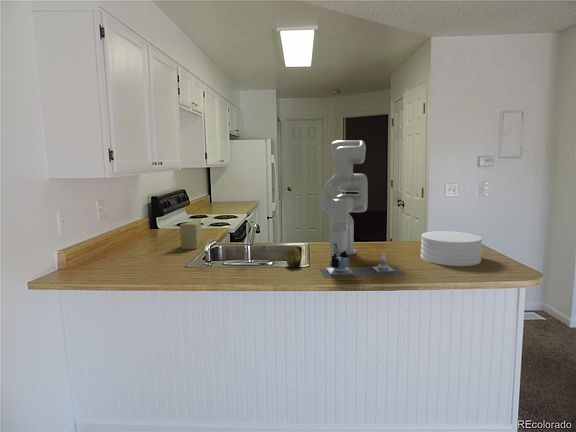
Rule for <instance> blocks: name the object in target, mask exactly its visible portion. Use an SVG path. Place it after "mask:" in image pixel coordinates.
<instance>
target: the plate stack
mask: <svg viewBox="0 0 576 432" xmlns="http://www.w3.org/2000/svg"><path fill="white" fill-rule="evenodd" d="M420 238H421V239H420V243H421V245H420V259H422V260H424V261H426V262H427V263H428V262H429V263H432V264H436V265H443V266H451V267H452V266H453V267H469V266H475V265H479V264H480V263H481V262H482V258H481V257H482V247H483V243H482V242H483V237H482V236H481V235H477V234H475V233H469V232H464V231H451V230H450V231H449V230H437V231H436V230H433V231H426V232H423V233H421V236H420Z"/></svg>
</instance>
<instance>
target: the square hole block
mask: <svg viewBox="0 0 576 432" xmlns="http://www.w3.org/2000/svg"><path fill="white" fill-rule="evenodd" d="M338 259H342V260H339V267H338V268H336V269H345V268H346V267H348V268H349V267H350V258H349V257H347V258H342V257H340V256H338ZM329 268H335V267H332V258H331V259H330V260H329Z"/></svg>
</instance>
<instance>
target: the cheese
mask: <svg viewBox="0 0 576 432" xmlns="http://www.w3.org/2000/svg"><path fill="white" fill-rule="evenodd" d="M179 236H180V237H179V239H180V248H181V249H182V250H197V249H198V247H199V245H200V244H202V242H203V229H202V218H195V219H193V220H191V221H188V222H185V223H181V224H180V225H179Z"/></svg>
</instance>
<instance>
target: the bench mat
mask: <svg viewBox="0 0 576 432" xmlns="http://www.w3.org/2000/svg"><path fill="white" fill-rule="evenodd" d="M372 267H373V266H371V267H352V268H351V267H348V268H349V269H350V270H351V271H352V272H353V275H343V276H330V274H329V273H328V271H327V270H326V269H325V268H324V269H319V271H320V272H321V273H320V274H322V276H323V277H324V279H330V278H331V279H333V278H335V279H337V278H356V277H357V278H358V277H379V276H380V277H382V276H402V275H403V276H404V275H406V276H407V275H408V274H407V273H406V272H404V271H403V270H402V269H400V268H399V267H397V266H390V267H391V268H392V269H393V270H395V273H376V272H375V271H374V270H373V269H372Z"/></svg>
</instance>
